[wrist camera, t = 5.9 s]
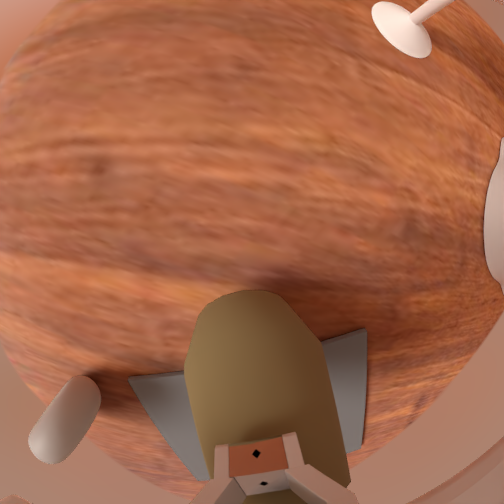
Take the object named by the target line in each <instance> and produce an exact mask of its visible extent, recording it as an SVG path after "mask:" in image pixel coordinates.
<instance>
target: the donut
mask: <svg viewBox="0 0 504 504" xmlns="http://www.w3.org/2000/svg"><path fill="white" fill-rule="evenodd" d="M100 404H101V394H100V390H99V388H98V386H97V384H96V383H95V382H94V381H93V380H92V379H90V378H89V377H86V376H75V377H72V378H71V379H70V380H69V381H68V382H67V383H66V384H65V385H64V387H63V388H62V389H61V390H60V391H59V393H58V394H57V395H56V397H55V398H54V399H53V401H52V402H51V403H50V405H49V406H48V407H47V409H46V410H45V411H44V413H43V414H42V416H41V417H40V418H39V420H38V421H37V423H36V424H35V426H34V427H33V429H32V430H31V432H30V435H29V441H28V442H29V446H30V449H31V451H32V452H33V454H34V455H35V456H36V457H37V458H38V459H39V460H41V461H42V462H44V463H48V464H57V463H60V462H62V461H63V460H65V459H66V458H67V457H68V456H69V455H70V454H71V453H72V452H73V451H74V449H75V448H76V447H77V445H78V444H79V442H80V441H81V440H82V438H83V437H84V435H85V434H86V432H87V431H88V429H89V428H90V426H91V424H92V422H93V421H94V419H95V417H96V415H97V413H98V411H99V408H100Z"/></svg>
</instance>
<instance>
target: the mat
mask: <svg viewBox="0 0 504 504" xmlns="http://www.w3.org/2000/svg"><path fill="white" fill-rule="evenodd" d="M321 344H322V348H323V352H324V356H325V360H326V364H327V368H328V372H329V377H330V381H331V385H332V389H333V394H334V398H335V403H336V407H337V412H338V417H339V421H340V426H341V431H342V436H343V441H344V446H345V451H346V454H347V453H350V452H353V451H355V450H358V449H361V444H362V436H363V426H364V415H365V401H366V382H367V330H366V329H365V328H363V329H360V330H357V331H354V332H351V333H348V334H345V335H341V336H338V337H335V338H332V339H328V340H325V341H321ZM128 382H129V384H130V385H131V387H132V389H133V391H134V392H135V394H136V396H137V397H138V399H139V401H140V402H141V404H142V406H143V407H144V409H145V410H146V412H147V413H148V415H149V417H150V418H151V420H152V421H153V423H154V424H155V426H156V427H157V429H158V430H159V431H160V433H161V434H162V436H163V437H164V439H165V440H166V441H167V443H168V444H169V445H170V447H171V448H172V449H173V451H174V452H175V453H176V455H177V456H178V457H179V459H180V460H181V461H182V462H183V464H184V465H185V466H186V467H187V468H188V470H189V471H190V472H191V473H192V474H193V476H194V477H195V478H196V479H197V480H198V481H205V480H210V477H209V474H208V470H207V467H206V464H205V460H204V457H203V453H202V450H201V446H200V442H199V439H198V435H197V431H196V427H195V423H194V419H193V415H192V410H191V406H190V401H189V397H188V392H187V388H186V383H185V378H184V371H178V372H170V373H162V374H152V375H142V376H130V377H129V378H128Z"/></svg>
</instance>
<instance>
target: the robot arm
mask: <svg viewBox="0 0 504 504" xmlns="http://www.w3.org/2000/svg"><path fill="white" fill-rule="evenodd" d="M484 248H485V256H486V261H487V265H488V268H489V271H490V273H491V275H492V276H493V278H494V279H495V280H496V281H498V282H499V283H500V284H501V287H502V292H503V295H504V137H503V138H502V141H501V148H500V157H499V161H498V163H497V165H496V167H495V169H494V171H493V174H492V176H491V180H490V183H489V187H488V192H487V197H486V204H485V214H484ZM282 437H283V438H282ZM285 489H291V490H292V491H293V492H294V493H296V494H297V495H298V496H299V497H300V498H301V499H303V500H304V501H305V502H306V503H308V504H359V503H358V501H357V498H356V496H355V493H353V492H351V491H350V490H348V489H346V488H345V487H343V486H341V485H340V484H338V483H337V482H335V481H333V480H332V479H330V478H329V477H327V476H326V475H324V474H323V473H321V472H320V471H318V470H317V469H315V468H314V467H312V466H311V465H310V464H307V465H305V464H304V460H303V456H302V453H301V449H300V445H299V441H298V438H297V434H296V432H291V433H287V434H283V435H282V434H281V435H277V436H272V437H268V438H263V439H257V440H254V441H247V442H239V443H231V444H221V445H216V447H215V459H214V479H210V480H209V481H208V483H207V484H206V485H205V486H204V487H203V488H202V490H201V491H200V492H199V493H198V494H197V495H196V497H195V498H194V499H193V500H192V501H191V502H190V503H189V504H242V503H243V501H244V500H245V498H246V496H247V495H254V494H261V493H266V492H273V491H280V490H285ZM0 504H33V503H31V502H29V501H27V500H25V499H23V498H22V497H19V496H17V495H14V494H13V495H9V496H6V497H4V498H2V499H0ZM407 504H504V437H502V438H501V439H500V440H499V441H498V442H497V443H496V444H495V445H493V446H492V447H491V448H490V449H489V450H488V451H486V452H485V453H484V454H483V455H482V456H480V457H479V458H478V459H477V460H475V461H474V462H473V463H471V464H470V465H469V466H467V467H466V468H465V469H463V470H462V471H460V472H459V473H457V474H456V475H454V476H453V477H452V478H450V479H449V480H447V481H446V482H444V483H442V484H441V485H439V486H437V487H436V488H434V489H432V490H431V491H429V492H427V493H426V494H424V495H422V496H420V497H418V498H416V499H415V500H413V501H411V502H409V503H407Z"/></svg>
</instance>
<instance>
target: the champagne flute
mask: <svg viewBox="0 0 504 504" xmlns="http://www.w3.org/2000/svg"><path fill="white" fill-rule="evenodd" d="M453 1H455V0H428V1H427V2H425V3H424V4H423V5H421V6H420V7H419V8H418V9H416V10H415V11H414V12H413V13H410V12H409V11H407V10H406V9H404V8H403V7H401V6H399V5H396V4H394V3H390V2H378V3H376V4H375V5H374V6H373V8H372V18H373V20H374V23H375V25H376V26H377V28H378V29H379V31H380V32H381V34H382V35H383V36H384V37H385V38H386V39H387V40H388V41H389V42H390V43H391V44H392V45H393V46H395V47H396V48H397V49H399V50H400V51H402V52H403V53H405V54H407V55H409V56H412V57H415V58H425V57H427V56H428V55H429V54H430V53H431V49H432V44H431V40H430V37H429V35H428V33H427V31H426V29H425V28H424V26H423V25H422V24H421V23H422V22H424V21H425V20H427V19H428V18H429V17H431V16H432V15H434V14H435V13H437V12H438V11H440V10H441V9H443V8H444V7H446V6H447V5H449V4H450V3H452V2H453ZM493 1H496V2H498V3H500V4H502V5H504V0H493Z"/></svg>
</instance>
